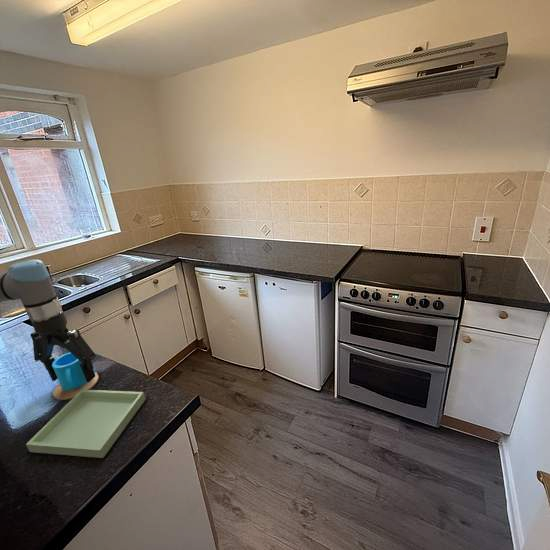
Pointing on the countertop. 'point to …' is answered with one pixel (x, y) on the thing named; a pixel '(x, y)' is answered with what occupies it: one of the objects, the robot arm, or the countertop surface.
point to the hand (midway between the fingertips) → (74, 378)
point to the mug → (69, 371)
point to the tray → (88, 424)
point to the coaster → (69, 394)
